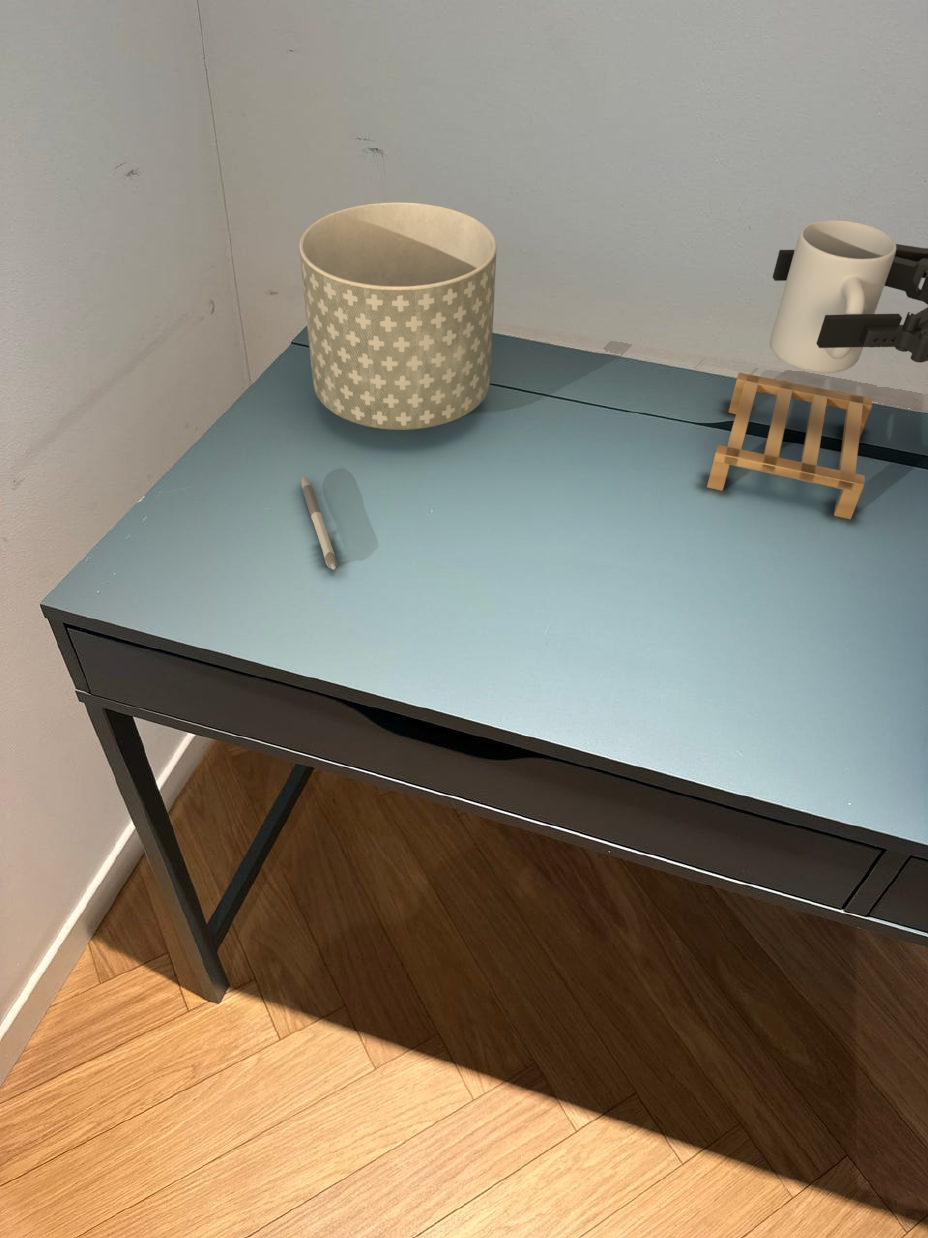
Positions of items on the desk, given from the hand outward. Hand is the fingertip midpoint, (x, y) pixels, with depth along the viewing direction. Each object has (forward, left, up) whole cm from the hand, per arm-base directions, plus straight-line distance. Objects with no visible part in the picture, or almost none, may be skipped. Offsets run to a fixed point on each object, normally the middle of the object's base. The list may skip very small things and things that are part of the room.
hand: (798, 296), depth 87 cm
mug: (+1, -4, -7) cm, 8 cm away
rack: (+1, -4, -18) cm, 18 cm away
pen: (-16, +42, -18) cm, 49 cm away
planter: (+6, +37, -18) cm, 42 cm away
